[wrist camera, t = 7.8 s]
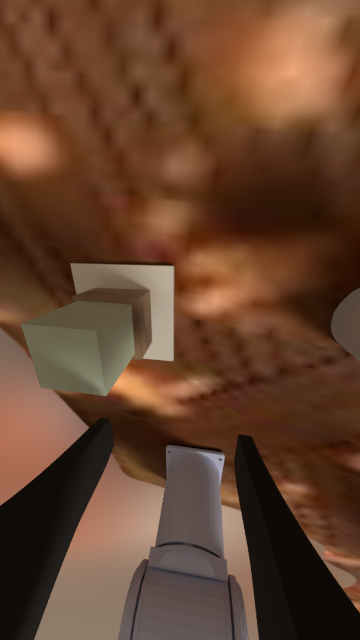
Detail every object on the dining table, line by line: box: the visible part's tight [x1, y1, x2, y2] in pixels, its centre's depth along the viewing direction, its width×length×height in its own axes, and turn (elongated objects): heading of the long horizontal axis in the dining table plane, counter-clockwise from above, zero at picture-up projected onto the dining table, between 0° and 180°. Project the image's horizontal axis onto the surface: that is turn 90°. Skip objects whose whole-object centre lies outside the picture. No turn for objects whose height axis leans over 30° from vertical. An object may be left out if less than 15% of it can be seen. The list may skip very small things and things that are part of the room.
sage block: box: [21, 301, 135, 396], centre depth 13 cm, size 4×4×5 cm
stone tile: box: [70, 263, 174, 361], centre depth 19 cm, size 10×10×1 cm
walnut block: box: [72, 288, 152, 360], centre depth 17 cm, size 6×6×4 cm
